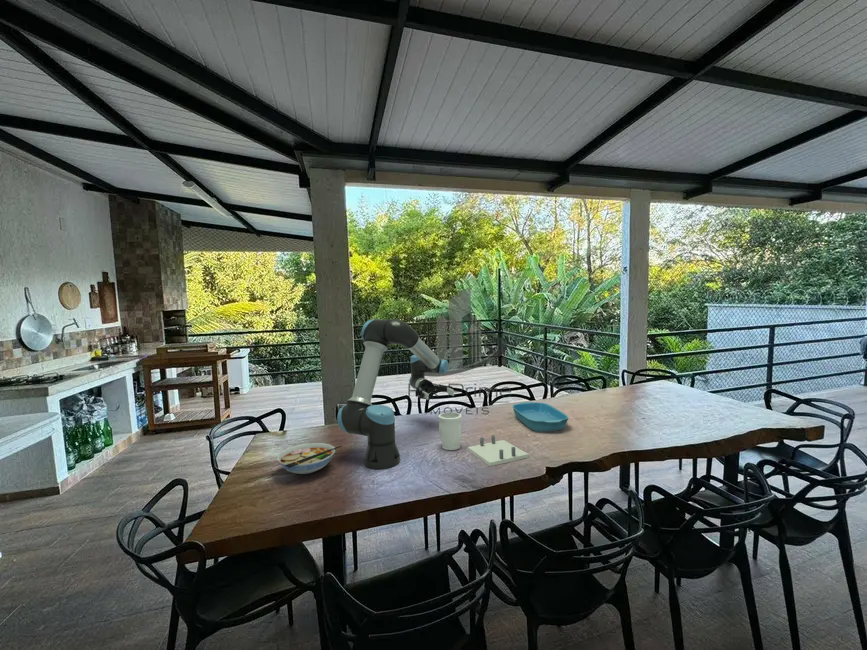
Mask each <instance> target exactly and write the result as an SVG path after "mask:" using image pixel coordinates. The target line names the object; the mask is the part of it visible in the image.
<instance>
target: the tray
mask: <svg viewBox="0 0 867 650" xmlns="http://www.w3.org/2000/svg"><path fill="white" fill-rule="evenodd" d="M484 442H485V439H484V437H480V438H479V444H476V445H471V446H468V447H467V451H468V452H470V453H471V454H473V456H475V457H477V458H478V459H479V460H481V461H482V462H483V463H485V464H486V465H487V466H488V467H494V466H497V465H501V464H505V463H510V462H511V463H512V462H515V461H519V460H524V459H529V453H528V452H525V451H523V450H522V449H521V448H519V447H516V446H515V445H513V444H511V443H509V442H508V441H507V440H505V439H500V440H496V435H494V434H492V435H491V442H486V443H484Z"/></svg>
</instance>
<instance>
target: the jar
mask: <svg viewBox="0 0 867 650" xmlns="http://www.w3.org/2000/svg"><path fill="white" fill-rule="evenodd" d="M438 419H439V423H438V431H439V437H440V440H441V443H442V445H441V447H442V449H443V450H446V451H455V450H458V449H460V448H461V444H460V443H461V441H462V433H463V424H462V420H461V419H462V414H461V413H458V412H453V411H451V412H443V413H440V414H439V415H438Z"/></svg>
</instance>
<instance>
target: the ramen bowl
mask: <svg viewBox="0 0 867 650" xmlns="http://www.w3.org/2000/svg"><path fill="white" fill-rule="evenodd" d="M341 447H342V445H341V446H340V445H339V446H336V447H335V446H333V445H331V444H329V443H325V442H323V443H322V442H312V443H303V444H298V445H296V446H292V447H289V448H287V449H284V450H283V451H281V452H280V453H279V454H277V458H276V460H277V462H278V464H280V465H281V467H283V469H284V470H286V471H287V472H289V473H292V474H297V475H298V474H299V475H309V474H310V475H311V474H313V473H314V472H317V471H319V470H322V469H323V468H324V467H326V466H327V465H328V464H329V463H330V461H331V460H332V458H333V457H334V454H335V453H336V450H337V449H339V448H341Z"/></svg>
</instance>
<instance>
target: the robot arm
mask: <svg viewBox="0 0 867 650" xmlns="http://www.w3.org/2000/svg"><path fill="white" fill-rule="evenodd" d="M360 334H361V340H362V341H363V346H364V352H363V356H362V359H361V362H360V363H361V364H360V367H359V370H358V374H357V376H356V377H357V378H356V381H355V385H354V388H353V391H352V396H351V397H350V398H348V399H347V401H346V404H345V405H343V406H341V407H340V408H339V410H338V412H337V417H336V418H337V420H336V421H337V425H338V427H339V429H340V430H341V431H342V432H344V433H347V434H350V435H353V434H354V435H359V436H365V437H367V446H366V447H367V448H366V451H365V454H364V459H363V461H364V465H365V466H366V467H367V468H370V469H373V470H374V469H375V470H381V469H382V470H384V469H389V468H392V467H396V466H397V465H398V464H399V463H400V462H401V455H400V451H399V449H398V446H397V442H396V427H395V426H396V424H395V422H396V419H395V411H394V410H393V409H392V408H391V407H390V406H387V405H384V404H372V402H371V401H372V398H373V393H374V389H375V385H376V382H377V378H378V374H379V371H380V366H381V361H382V358H383V355H384V352H385V351H387V350H388V348H389V345H397V346H398V345H399V346H401V347H403V348H404V349H408V350H409V351H410V352H411V353H412V354H413V355H411V356H410V362H409V363H410V374H411V375H410V378H409V380H408V381H409V385H410V387H411V388H413V389H414V390H415V397H416V398H417V397H419V398H420V399H422V398H424V399H425V400H427V401H428V400H429V395H430V394H432V393H438V392H440V393H447V394H448V395H450V396H452V397H454V396H455V390H454V389H453V386H452V385H443V384H441V383H439V384H436V385H435V384H434V383H433V382H432V381H431V380H428V379H426V378H425V373H427V374H429V373H430V374H439V375H443V374H447V373H448V371H449V368H450V367H449V361H448V360H447V359H443V358H442V359H441V358H440V357H439V356H437V355H436V353H435V352H434V351H433V350H432V349H431V348H430V347H429V346H428V345H427V344H426V343H425V342H424V341H423V340H422V339H421V337H420V336H419V333H418V332H417V331H416V329H414V328H413V327H412V326H410V325H409V324H408V323H406V322H404V321H402V320H400V319H397V318H396V319H395V318H391V319H389V318H388V319H386V318H385V319H381V318H380V319H379V318H375V319H369V320H367V321H366V322H365V323H364V324H363V326H362V328H361V332H360Z"/></svg>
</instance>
